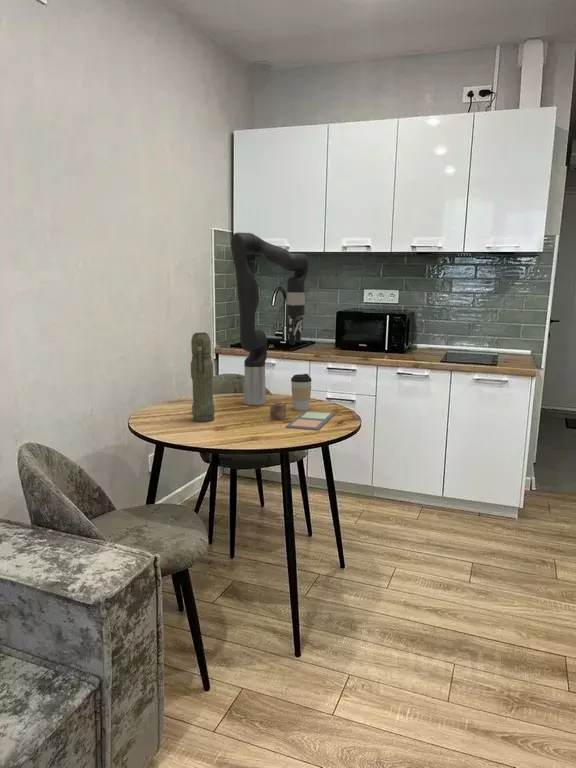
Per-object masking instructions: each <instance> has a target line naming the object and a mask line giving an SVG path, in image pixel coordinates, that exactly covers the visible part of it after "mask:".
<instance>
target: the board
mask: <svg viewBox="0 0 576 768" xmlns="http://www.w3.org/2000/svg"><path fill="white" fill-rule="evenodd" d="M335 415H336V413H334V412H323V411H322V412H319V411H311V410H310V411H309V410H304V411H302V413H300V414H299V415H298V416H297V417H295V418H294V419H293V420H292V421H290V422H289V423H288V424H287V425H286V426H285V428H287V429H296V430H297V429H298V430H308V431H309V430H311V431H320V429H322V428H323V427H324V426H325V425H327V423H328V422H329V421H330V420H331V419H332V418H333V417H334V416H335Z"/></svg>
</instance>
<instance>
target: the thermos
mask: <svg viewBox="0 0 576 768" xmlns="http://www.w3.org/2000/svg"><path fill="white" fill-rule="evenodd" d="M190 341H191V345H190V347H191V361H190V378H191V380H192V401H193V402H192V406H191V410H192V411H191V412H192V414H191V415H192V421H193V422H195V423H211V422H214V420H215V413H216V412H215V409H216V408H215V404H214V396H213V395H214V393H213V391H214V390H213V389H214V388H213V378H214V363H213V360H212V355H211V354H212V346H211V345H212V343H211V341H212V340H211V337H210V335H209V333H207V332H195V333H193V334H192V337H191V340H190Z"/></svg>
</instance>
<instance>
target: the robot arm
mask: <svg viewBox="0 0 576 768" xmlns="http://www.w3.org/2000/svg"><path fill="white" fill-rule="evenodd" d="M230 249H231V252H232V259H233V263H234V269H235V277H236V288H237V291H236V292H237V300H238V311H239V340H240V345H241V347H242V349H243V350H244V351H245V352H247V353H248V352H249V355H248V356H247V357H246V358H245V359H244V382H242V390H243V391H242V392H243V393H242V394H243V401H242V402H243V404H244V405H247V406H262V405H265V404H266V361H267V358H268V339H267V335H266V333H265V332H264V331H263V330H262V329H256V328H255V316H256V313H257V309H258V306H259V302H260V293H259V292H260V291H259V285H258V281H257V280H256V278H255V275H254V274H253V272H252V271H251V270H250V268H249V265H248V260H247V256H249V255H259V256H262V257H264V259H265V260H266V261H267V262H270V263H272V264H275V265H277V266H280V267H281V268H282V269H284V270H285V271H289V272H294V273H293V276H291V277H289V278H288V279H287V282H286V283H287V284H286V285H287V287H286V288H287V289H286V299H285V300H286V304H285V305H286V307H285V308H286V310H285V311H286V313H285V314H286V315H287V316H290V319H289V318H288V319H287V331H286V334H287V335H288V339H289V342H288V344H289V345H292V346H294V345H295V344H296V343H301V341H302V332H303V330H304V325H303V324H304V317H303V316H305V313H306V311H305V309H306V296H305V285H306V284H305V283H306V280H307V275H308V272H309V271H308V270H309V266H310V264H309V262H310V261H309V258H308V256H307V255H306V254H304V253H297V252H295V253H294V252H290V251H289V250H287V249H286V248H283V247H281V246H278V245H275V244H272V243H269V242H268V241H265V240H263V239H262V238H260V237H259V236H257V235H255V234H254V233H253V232H235V233H233V235H232V237H231V241H230Z"/></svg>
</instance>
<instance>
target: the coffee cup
mask: <svg viewBox="0 0 576 768" xmlns="http://www.w3.org/2000/svg"><path fill="white" fill-rule="evenodd" d="M290 383H291V385H290V386H291V399H292V405H293V407H292V409H293V410H295V411H302V412H304V411H309V410H310V405H311V404H310V403H311V395H312V394H311V393H312V377H311V376H310V375H309V373H301V374H299V373H298V374H293V375H292V377H291V379H290Z"/></svg>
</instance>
